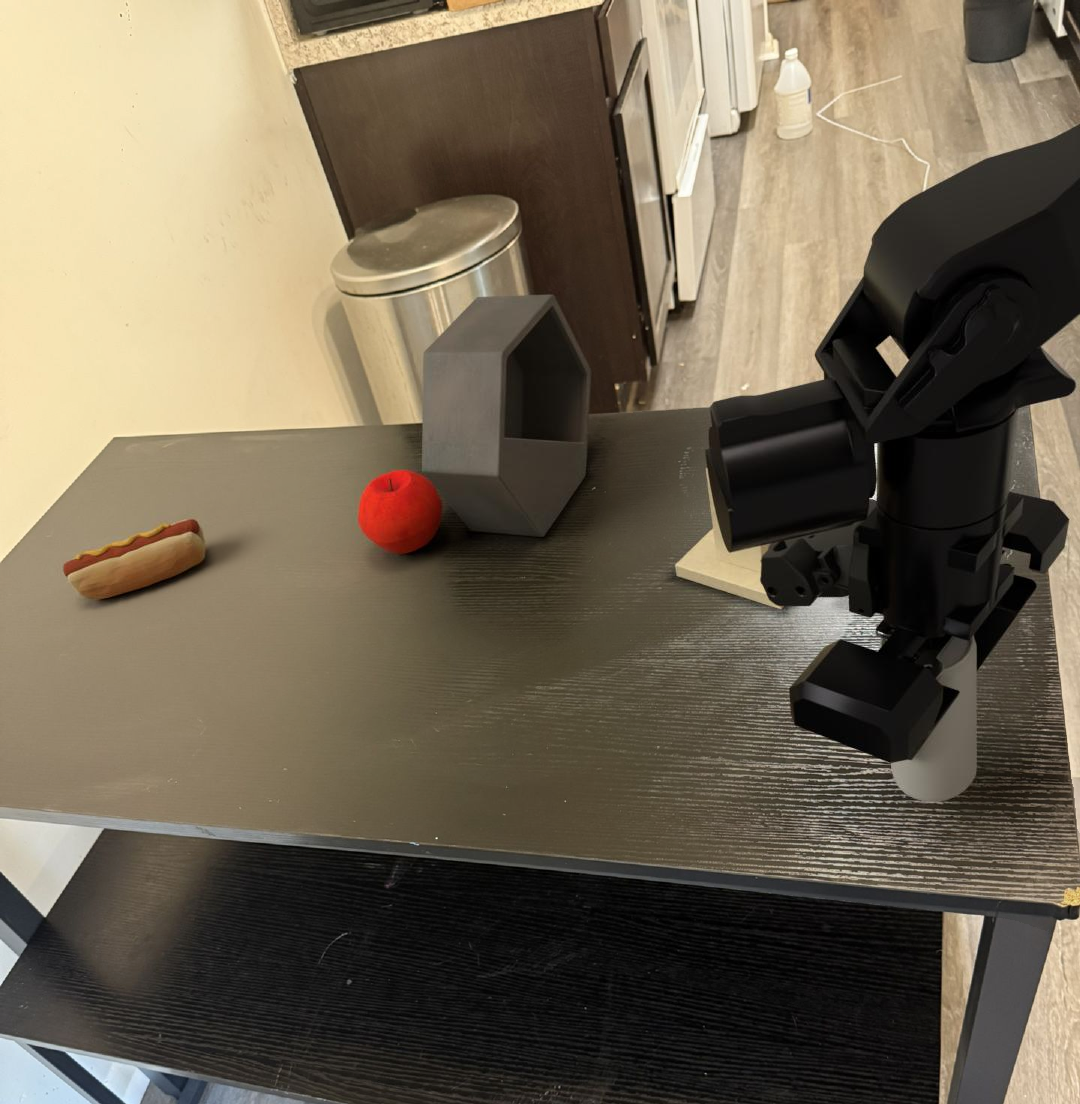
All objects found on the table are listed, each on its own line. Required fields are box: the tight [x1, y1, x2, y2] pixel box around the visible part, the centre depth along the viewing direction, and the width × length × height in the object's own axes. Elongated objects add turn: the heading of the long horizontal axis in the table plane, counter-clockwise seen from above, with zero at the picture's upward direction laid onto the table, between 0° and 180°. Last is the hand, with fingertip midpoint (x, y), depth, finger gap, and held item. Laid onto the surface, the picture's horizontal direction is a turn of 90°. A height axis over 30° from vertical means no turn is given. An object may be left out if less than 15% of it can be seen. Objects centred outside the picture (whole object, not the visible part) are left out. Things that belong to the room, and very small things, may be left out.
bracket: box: [674, 468, 785, 610], centre depth 80 cm, size 10×9×10 cm
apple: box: [357, 469, 443, 555], centre depth 94 cm, size 8×8×7 cm
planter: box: [421, 294, 592, 538], centre depth 91 cm, size 17×8×21 cm
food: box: [62, 518, 207, 601], centre depth 101 cm, size 14×6×5 cm, turn 106°
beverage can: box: [878, 635, 978, 803], centre depth 56 cm, size 5×5×12 cm
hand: (926, 724), depth 57 cm, fingers closed on beverage can, 5 cm apart
